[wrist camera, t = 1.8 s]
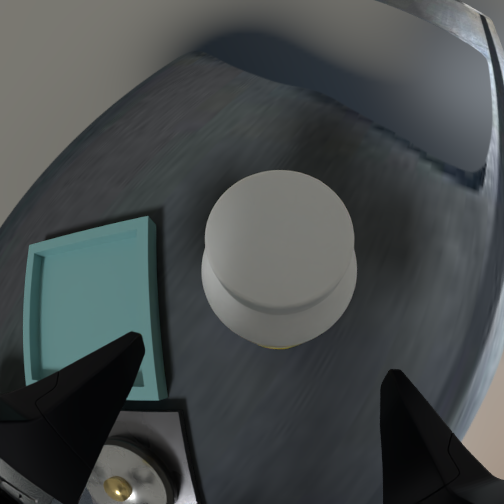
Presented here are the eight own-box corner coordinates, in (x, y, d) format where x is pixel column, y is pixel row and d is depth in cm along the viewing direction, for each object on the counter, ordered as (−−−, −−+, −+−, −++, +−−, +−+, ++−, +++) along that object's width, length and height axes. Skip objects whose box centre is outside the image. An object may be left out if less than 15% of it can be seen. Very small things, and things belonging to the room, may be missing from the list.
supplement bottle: (238, 256, 22) (198, 142, 10) (326, 264, 22) (376, 155, 10) (226, 344, 20) (155, 324, 8) (319, 353, 19) (384, 348, 7)
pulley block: (209, 534, 14) (198, 557, 11) (105, 518, 15) (84, 533, 11) (182, 409, 19) (163, 419, 15) (76, 404, 19) (48, 408, 15)
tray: (167, 397, 19) (158, 400, 17) (39, 389, 19) (26, 389, 18) (156, 225, 24) (148, 215, 22) (40, 251, 24) (29, 245, 23)
